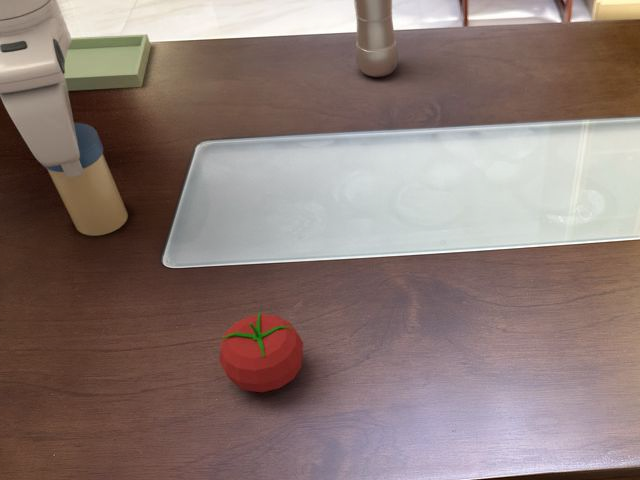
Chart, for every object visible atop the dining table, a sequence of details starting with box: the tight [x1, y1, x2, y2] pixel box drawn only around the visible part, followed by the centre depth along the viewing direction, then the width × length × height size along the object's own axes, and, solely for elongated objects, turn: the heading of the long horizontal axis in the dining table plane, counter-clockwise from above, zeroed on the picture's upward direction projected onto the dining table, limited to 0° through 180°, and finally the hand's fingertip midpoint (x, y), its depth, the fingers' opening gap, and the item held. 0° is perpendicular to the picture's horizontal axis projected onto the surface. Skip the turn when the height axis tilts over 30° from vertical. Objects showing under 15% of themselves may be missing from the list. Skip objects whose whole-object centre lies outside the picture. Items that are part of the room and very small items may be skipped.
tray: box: [65, 34, 152, 92], centre depth 109 cm, size 14×12×2 cm
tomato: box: [219, 310, 304, 393], centre depth 70 cm, size 8×8×8 cm
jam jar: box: [46, 152, 129, 237], centre depth 83 cm, size 6×6×11 cm
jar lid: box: [42, 122, 104, 172], centre depth 79 cm, size 7×6×2 cm
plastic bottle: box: [353, 0, 399, 78], centre depth 104 cm, size 6×7×20 cm
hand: (72, 153), depth 80 cm, fingers closed on jar lid, 6 cm apart
